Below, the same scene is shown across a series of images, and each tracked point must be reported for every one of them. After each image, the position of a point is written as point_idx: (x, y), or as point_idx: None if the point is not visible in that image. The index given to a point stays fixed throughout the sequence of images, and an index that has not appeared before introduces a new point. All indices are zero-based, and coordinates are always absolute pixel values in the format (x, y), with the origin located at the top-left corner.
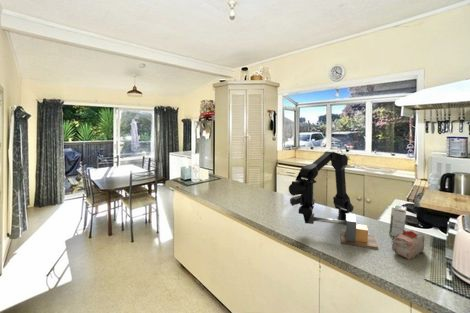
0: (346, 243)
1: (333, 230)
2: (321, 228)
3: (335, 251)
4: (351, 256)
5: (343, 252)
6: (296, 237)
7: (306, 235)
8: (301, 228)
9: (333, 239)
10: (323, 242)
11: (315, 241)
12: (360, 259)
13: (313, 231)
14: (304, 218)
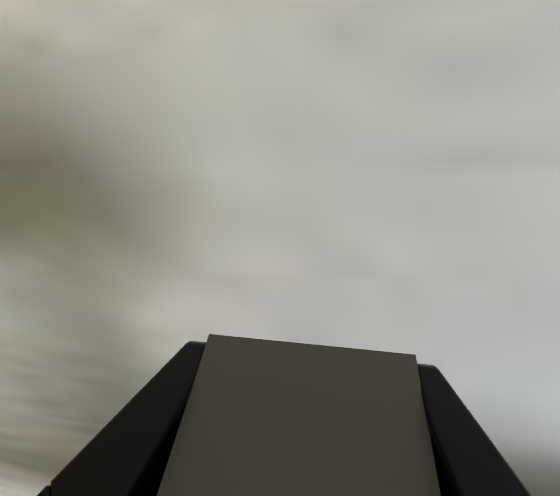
0: None
1: None
2: (513, 377)
3: (25, 413)
4: (28, 468)
5: (49, 447)
6: (73, 63)
7: (224, 212)
8: (499, 125)
9: None
10: (131, 362)
11: (107, 303)
12: (26, 491)
13: (395, 296)
14: (82, 463)
